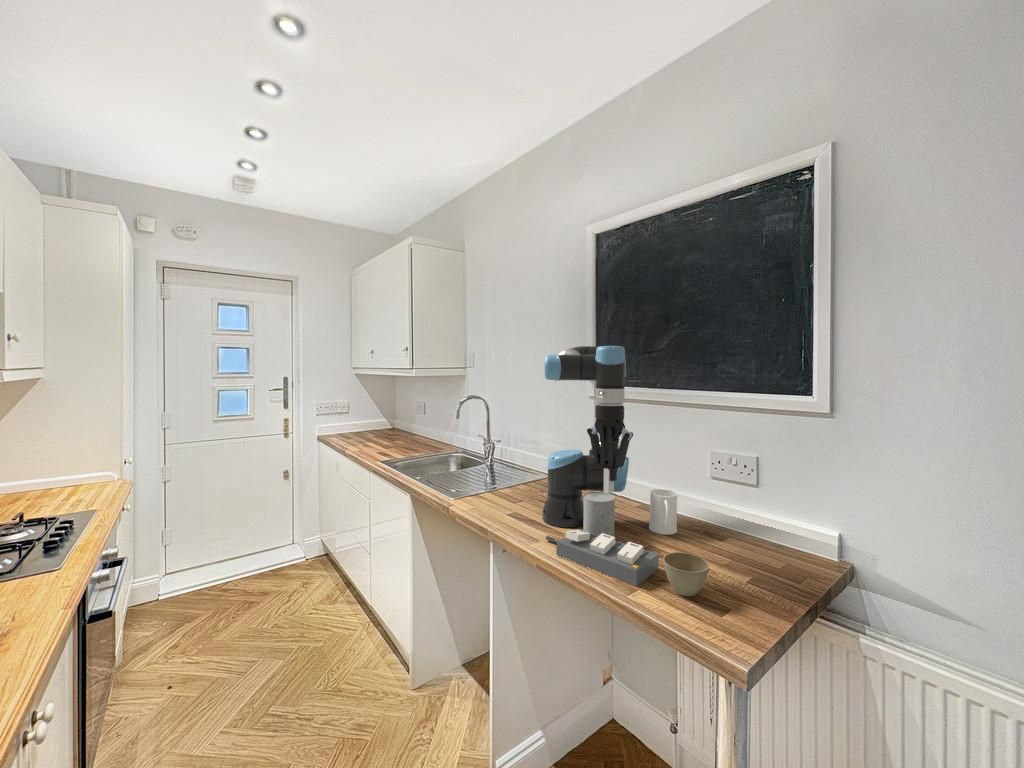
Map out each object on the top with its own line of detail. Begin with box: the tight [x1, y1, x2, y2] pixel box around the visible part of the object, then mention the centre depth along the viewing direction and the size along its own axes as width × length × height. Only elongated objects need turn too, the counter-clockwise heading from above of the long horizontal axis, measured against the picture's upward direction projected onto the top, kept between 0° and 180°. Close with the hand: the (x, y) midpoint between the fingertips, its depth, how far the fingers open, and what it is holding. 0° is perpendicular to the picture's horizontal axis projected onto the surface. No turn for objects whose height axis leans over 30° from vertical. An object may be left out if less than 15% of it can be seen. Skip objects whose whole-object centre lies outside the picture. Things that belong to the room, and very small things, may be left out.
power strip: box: [545, 529, 660, 588], centre depth 120 cm, size 33×12×4 cm, turn 47°
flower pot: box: [662, 551, 710, 597], centre depth 102 cm, size 10×10×7 cm
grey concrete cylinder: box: [582, 491, 616, 538], centre depth 134 cm, size 10×10×12 cm
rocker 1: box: [564, 529, 590, 542], centre depth 121 cm, size 4×6×2 cm, turn 137°
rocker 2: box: [590, 533, 617, 555], centre depth 116 cm, size 4×6×2 cm, turn 137°
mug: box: [648, 488, 678, 536], centre depth 138 cm, size 12×8×12 cm
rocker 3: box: [617, 541, 645, 565], centre depth 110 cm, size 4×6×2 cm, turn 137°
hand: (608, 492), depth 117 cm, fingers closed
